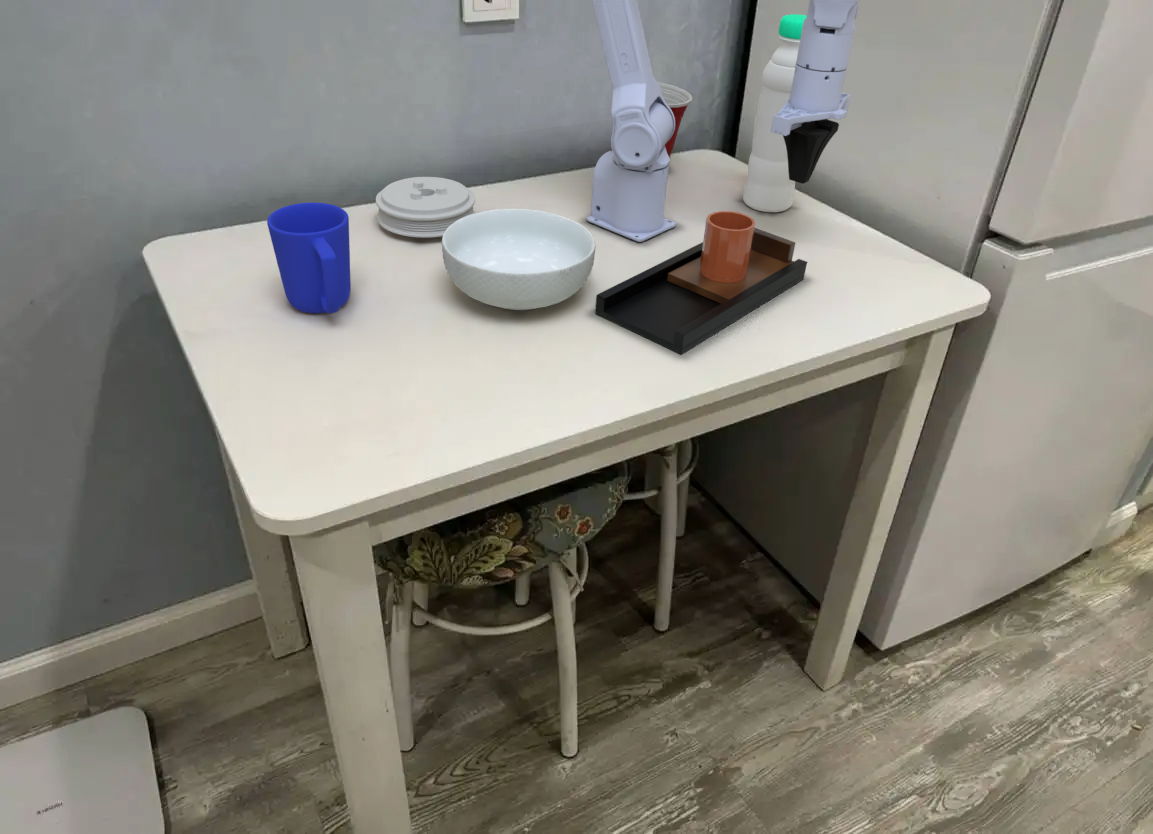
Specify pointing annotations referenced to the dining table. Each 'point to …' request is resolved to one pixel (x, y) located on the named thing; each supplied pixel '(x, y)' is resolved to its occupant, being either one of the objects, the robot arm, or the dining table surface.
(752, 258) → the slide
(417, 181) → the lid
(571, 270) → the cereal bowl
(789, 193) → the water bottle
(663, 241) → the dining table surface
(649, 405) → the dining table surface
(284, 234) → the mug
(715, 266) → the cup
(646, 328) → the slide rail
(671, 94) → the plastic cup
